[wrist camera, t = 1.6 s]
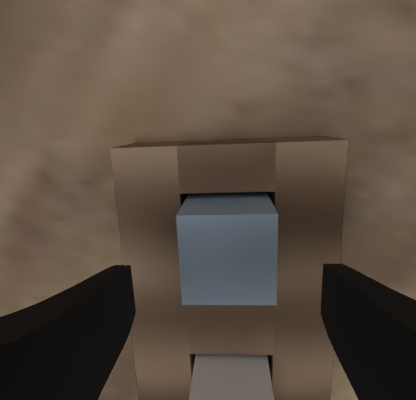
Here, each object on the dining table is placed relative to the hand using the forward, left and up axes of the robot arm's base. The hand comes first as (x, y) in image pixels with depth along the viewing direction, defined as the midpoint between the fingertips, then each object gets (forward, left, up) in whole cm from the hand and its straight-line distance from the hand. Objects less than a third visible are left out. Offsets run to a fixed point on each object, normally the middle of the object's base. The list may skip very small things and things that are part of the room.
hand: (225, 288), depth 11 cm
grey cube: (0, 0, -6) cm, 6 cm away
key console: (-5, 0, -9) cm, 11 cm away
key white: (-10, 0, -6) cm, 12 cm away
